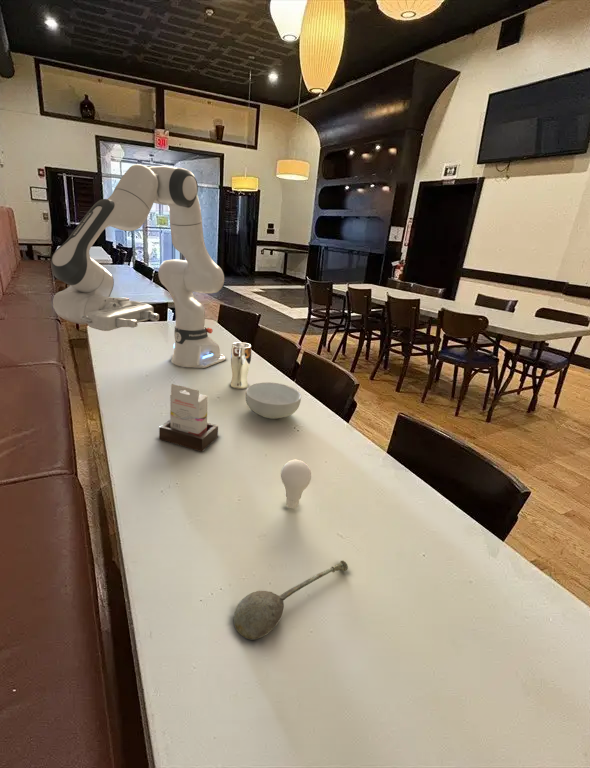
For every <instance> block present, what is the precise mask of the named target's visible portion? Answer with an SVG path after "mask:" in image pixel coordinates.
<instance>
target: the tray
mask: <svg viewBox="0 0 590 768" xmlns="http://www.w3.org/2000/svg"><path fill="white" fill-rule="evenodd" d="M158 430H159V431H158V432H159V433H158V434H159V440H161V441H164V442H168V443H171V444H174V445H178V446H181V447H184V448H188V449H191V450H195V451H198V452H201V453H202V452H204V451H205V449H207V448H208V447H209V446H210V445H211V444H212V443H213V442H215V441H216V440H217V439H218V437H219V436H218V435H219V425H217V424H215V423H211V422H207V432H206V433H205V434H203V435H202V436H201V437H200V436H197V435H193V434H190V433H186V432H182V431H179V430H175V429H172V428H170V419H169V420H167V421H166V422H164V423H163V424H162V425H160V426H159V428H158Z"/></svg>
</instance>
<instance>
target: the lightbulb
mask: <svg viewBox="0 0 590 768" xmlns="http://www.w3.org/2000/svg"><path fill="white" fill-rule="evenodd" d="M280 479H281V482H282V484H283V487H284V489H285V505H286V507H287V508H289V509H292V510H293V509H297V508H298V507H299V504H300V500H301V498H302V494H303V492H304V491H305V489H306V488H307V487H308V486H309V485H310V483H311V480H312V469H311V468H310V466H309V465H308V464H307V463H306V462H305V461H303V460H301V459H292V460H289V461H287V462H286V463H285V464H284V465H283V466H282V468H281V470H280Z"/></svg>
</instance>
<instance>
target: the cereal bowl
mask: <svg viewBox="0 0 590 768" xmlns="http://www.w3.org/2000/svg"><path fill="white" fill-rule="evenodd" d="M301 401H302V394H301V392H300V391H299V390H297V388H294V387H292V386H289V385H286V384H285V383H284V384H283V383H279V382H272V381H271V382H268V381H266V382H257V383H253V384H251V385H248V386H247V388H245V402H246V403H245V404H246V405H247V407H248V408H249V409H250V410H251V411H252V412H253V413H255V414H257V415H259V416H261V417H263V418H265V419H271V420H276V419H282V418H286V417H290V416H292V415H293V414H294V413H296V412H297V411H298V409H299V407H300V405H301Z"/></svg>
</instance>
